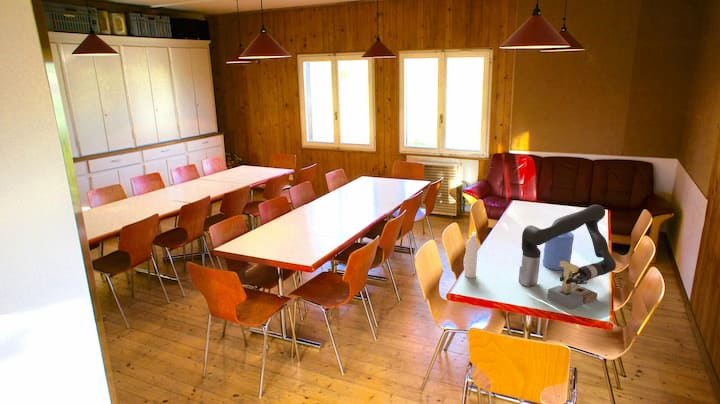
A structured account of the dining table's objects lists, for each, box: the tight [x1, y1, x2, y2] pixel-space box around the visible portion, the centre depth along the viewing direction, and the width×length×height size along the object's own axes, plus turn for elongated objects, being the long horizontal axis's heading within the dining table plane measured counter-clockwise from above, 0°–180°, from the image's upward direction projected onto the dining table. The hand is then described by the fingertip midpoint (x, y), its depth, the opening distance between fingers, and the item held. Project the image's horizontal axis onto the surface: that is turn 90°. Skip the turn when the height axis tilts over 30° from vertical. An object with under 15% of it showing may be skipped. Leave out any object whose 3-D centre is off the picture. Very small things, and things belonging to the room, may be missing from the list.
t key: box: [560, 261, 580, 295], centre depth 241 cm, size 9×3×18 cm, turn 30°
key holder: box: [547, 284, 584, 310], centre depth 244 cm, size 14×9×6 cm, turn 30°
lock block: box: [571, 283, 598, 304], centre depth 250 cm, size 14×9×4 cm, turn 30°
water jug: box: [542, 231, 575, 271], centre depth 286 cm, size 16×16×28 cm
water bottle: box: [464, 231, 479, 279], centre depth 275 cm, size 9×6×25 cm
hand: (563, 280), depth 240 cm, fingers closed on t key, 3 cm apart
